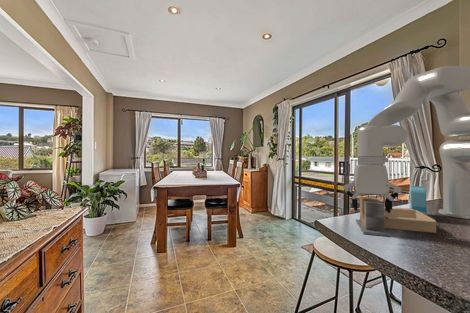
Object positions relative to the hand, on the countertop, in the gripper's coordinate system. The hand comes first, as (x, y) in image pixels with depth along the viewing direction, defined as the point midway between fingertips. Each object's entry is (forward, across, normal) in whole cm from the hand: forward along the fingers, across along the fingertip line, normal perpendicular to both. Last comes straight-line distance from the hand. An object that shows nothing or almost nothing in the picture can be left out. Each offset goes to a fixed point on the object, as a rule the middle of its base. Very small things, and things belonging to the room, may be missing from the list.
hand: (371, 210), depth 73 cm
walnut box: (+5, 0, 0) cm, 5 cm away
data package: (+7, -21, -22) cm, 32 cm away
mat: (+6, 0, 0) cm, 6 cm away
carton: (+6, -11, -9) cm, 16 cm away
